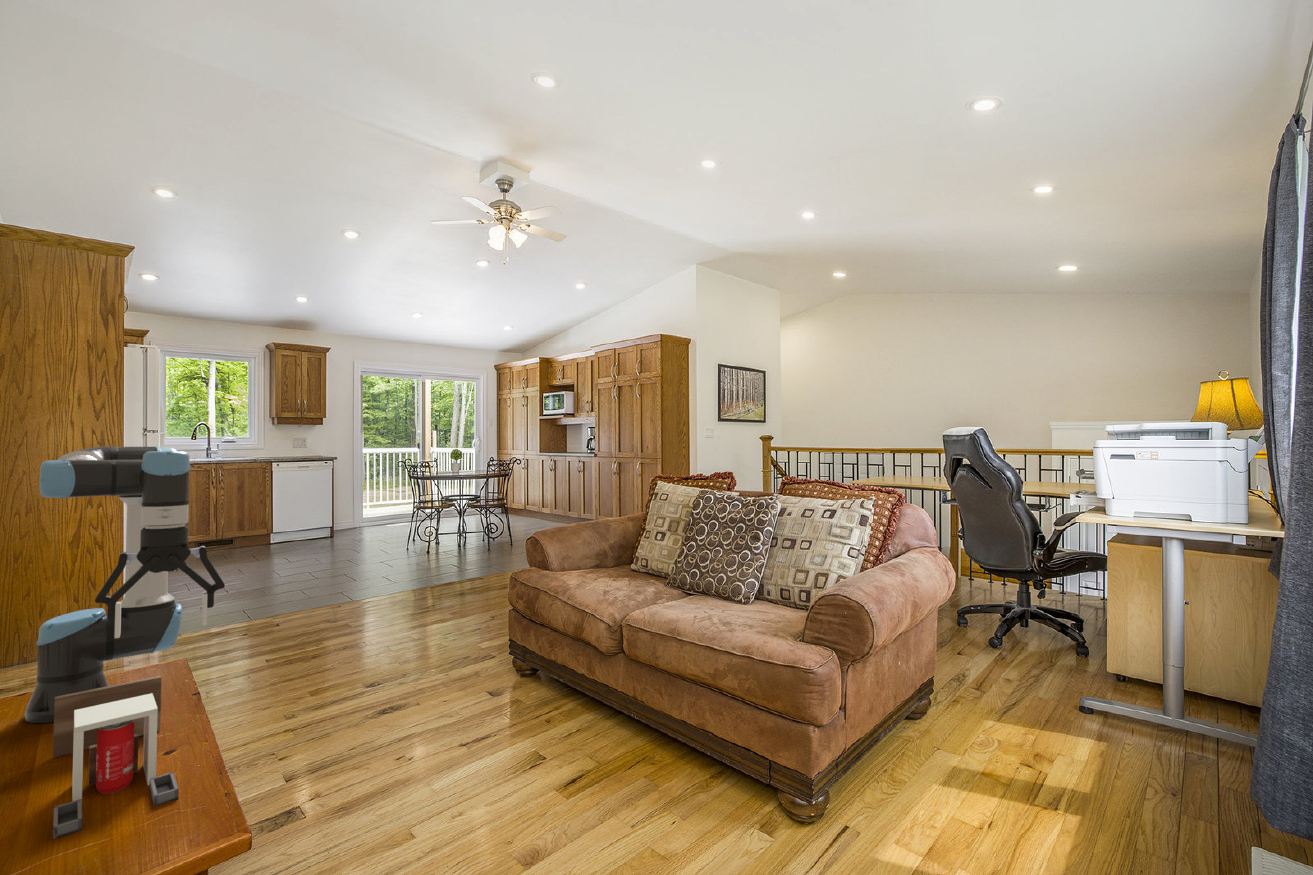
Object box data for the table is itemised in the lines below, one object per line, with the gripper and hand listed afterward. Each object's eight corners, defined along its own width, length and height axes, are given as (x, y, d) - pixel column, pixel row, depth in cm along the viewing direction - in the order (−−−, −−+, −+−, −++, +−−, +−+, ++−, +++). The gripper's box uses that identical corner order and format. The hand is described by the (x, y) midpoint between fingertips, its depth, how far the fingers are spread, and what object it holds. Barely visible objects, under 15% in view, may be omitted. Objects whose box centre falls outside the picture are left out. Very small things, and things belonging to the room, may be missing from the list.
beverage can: (110, 797, 109) (112, 731, 109) (88, 793, 110) (89, 728, 110) (140, 781, 114) (141, 718, 114) (118, 778, 115) (120, 716, 115)
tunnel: (72, 785, 112) (74, 710, 113) (150, 763, 120) (152, 693, 121) (72, 808, 105) (74, 727, 106) (155, 783, 113) (157, 708, 114)
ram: (53, 755, 123) (54, 697, 123) (159, 728, 135) (160, 675, 135) (50, 796, 108) (52, 730, 109) (170, 762, 120) (171, 703, 121)
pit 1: (53, 817, 103) (54, 807, 103) (81, 809, 105) (81, 799, 105) (52, 839, 97) (53, 828, 97) (81, 829, 99) (82, 819, 99)
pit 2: (149, 788, 112) (149, 778, 112) (172, 781, 114) (173, 771, 114) (154, 806, 106) (154, 796, 106) (178, 798, 108) (178, 788, 108)
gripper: (78, 533, 110) (75, 647, 110) (240, 523, 126) (238, 623, 126) (82, 528, 116) (79, 637, 116) (237, 519, 132) (235, 615, 132)
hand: (162, 630), depth 121 cm, fingers open, 13 cm apart
